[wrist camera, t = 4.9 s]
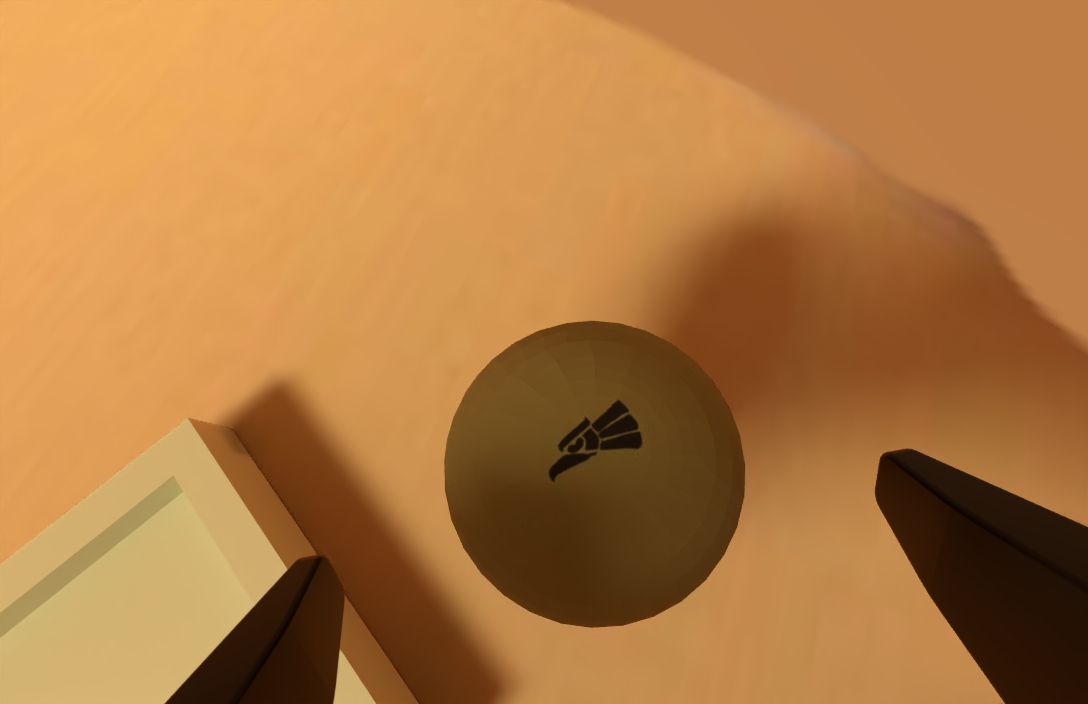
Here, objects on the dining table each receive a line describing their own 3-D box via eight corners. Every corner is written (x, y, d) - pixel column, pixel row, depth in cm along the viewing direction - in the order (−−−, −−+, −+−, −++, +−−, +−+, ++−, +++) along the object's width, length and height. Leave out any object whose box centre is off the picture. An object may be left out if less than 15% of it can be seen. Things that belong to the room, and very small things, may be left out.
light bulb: (570, 364, 19) (559, 208, 9) (713, 468, 18) (871, 413, 8) (463, 500, 18) (324, 484, 8) (606, 621, 17) (641, 769, 7)
